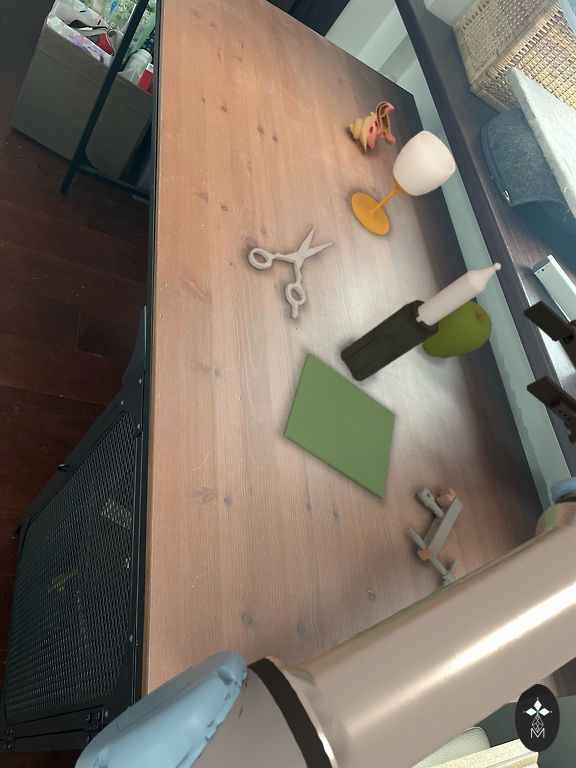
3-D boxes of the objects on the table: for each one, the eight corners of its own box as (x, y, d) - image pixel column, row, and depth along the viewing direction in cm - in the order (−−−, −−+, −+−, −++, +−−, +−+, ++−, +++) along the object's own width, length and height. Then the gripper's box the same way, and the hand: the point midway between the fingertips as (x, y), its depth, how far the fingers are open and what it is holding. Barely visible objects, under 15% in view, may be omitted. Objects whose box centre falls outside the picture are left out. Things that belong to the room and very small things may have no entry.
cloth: (380, 498, 79) (383, 497, 79) (283, 435, 74) (285, 434, 74) (393, 415, 88) (395, 414, 88) (307, 354, 83) (309, 352, 83)
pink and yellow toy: (344, 149, 116) (354, 94, 113) (345, 153, 125) (355, 103, 123) (393, 157, 115) (404, 102, 112) (390, 161, 125) (400, 110, 122)
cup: (396, 230, 113) (465, 171, 102) (371, 239, 106) (442, 177, 95) (368, 190, 113) (434, 127, 102) (342, 196, 107) (409, 130, 96)
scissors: (242, 258, 82) (304, 205, 97) (239, 262, 83) (301, 208, 97) (296, 316, 84) (350, 255, 98) (293, 319, 84) (346, 258, 99)
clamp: (438, 470, 85) (482, 526, 86) (426, 476, 87) (470, 530, 87) (395, 540, 74) (447, 604, 75) (383, 545, 76) (433, 607, 76)
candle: (337, 353, 87) (479, 249, 70) (357, 343, 91) (496, 243, 73) (357, 383, 87) (504, 287, 69) (376, 372, 90) (520, 278, 73)
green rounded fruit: (441, 334, 106) (496, 299, 98) (450, 377, 102) (509, 343, 94) (405, 319, 101) (460, 281, 93) (414, 363, 97) (471, 327, 89)
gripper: (621, 519, 77) (510, 433, 70) (600, 376, 94) (508, 295, 87) (683, 501, 72) (569, 406, 65) (649, 353, 89) (555, 264, 82)
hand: (534, 342), depth 76 cm, fingers open, 13 cm apart
